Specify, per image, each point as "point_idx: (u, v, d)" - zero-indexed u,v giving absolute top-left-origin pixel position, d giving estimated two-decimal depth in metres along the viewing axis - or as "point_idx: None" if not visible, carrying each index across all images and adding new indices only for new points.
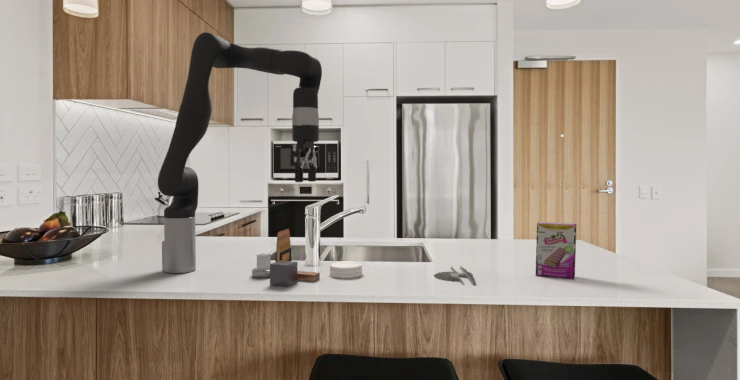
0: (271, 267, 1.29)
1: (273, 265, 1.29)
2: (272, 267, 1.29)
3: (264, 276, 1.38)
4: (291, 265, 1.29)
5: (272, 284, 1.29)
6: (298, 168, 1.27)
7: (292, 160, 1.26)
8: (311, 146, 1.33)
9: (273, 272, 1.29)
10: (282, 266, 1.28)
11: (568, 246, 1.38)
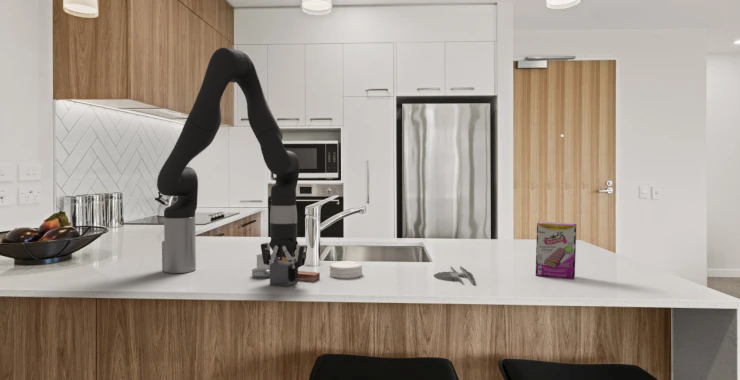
0: (271, 267, 1.29)
1: (273, 265, 1.29)
2: (272, 267, 1.29)
3: (264, 276, 1.38)
4: None
5: (272, 284, 1.29)
6: (297, 268, 1.30)
7: None
8: None
9: (273, 272, 1.29)
10: (282, 266, 1.28)
11: (568, 246, 1.38)
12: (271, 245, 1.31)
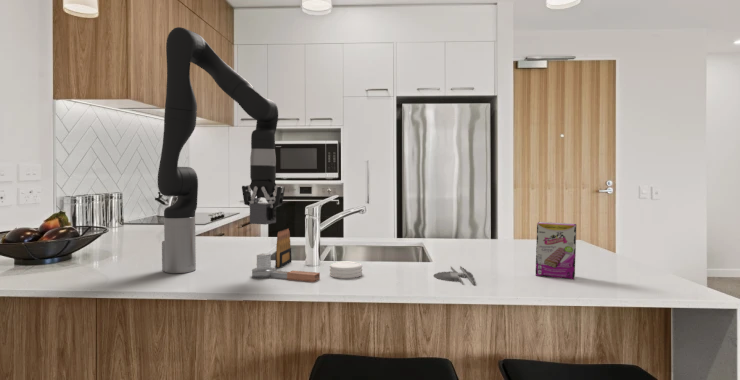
0: (251, 206, 1.39)
1: (253, 204, 1.39)
2: (252, 206, 1.39)
3: (264, 276, 1.38)
4: None
5: (252, 222, 1.39)
6: (275, 208, 1.40)
7: None
8: None
9: (253, 211, 1.39)
10: (261, 205, 1.38)
11: (568, 246, 1.38)
12: (251, 187, 1.40)
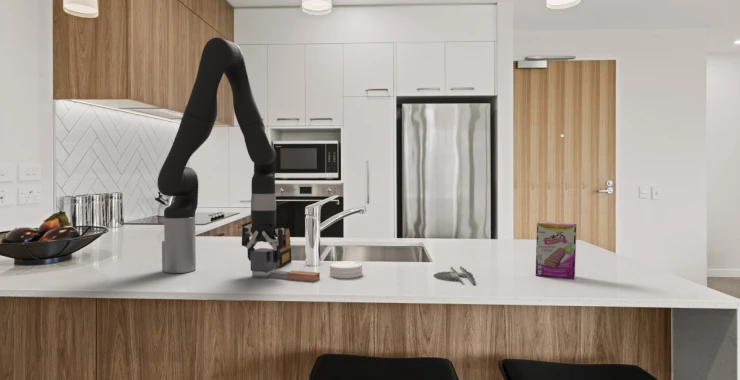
0: (251, 253, 1.39)
1: (253, 252, 1.39)
2: (252, 253, 1.39)
3: (264, 276, 1.38)
4: (270, 252, 1.40)
5: (252, 269, 1.40)
6: None
7: None
8: None
9: (253, 258, 1.39)
10: (261, 252, 1.38)
11: (568, 246, 1.38)
12: (252, 230, 1.41)
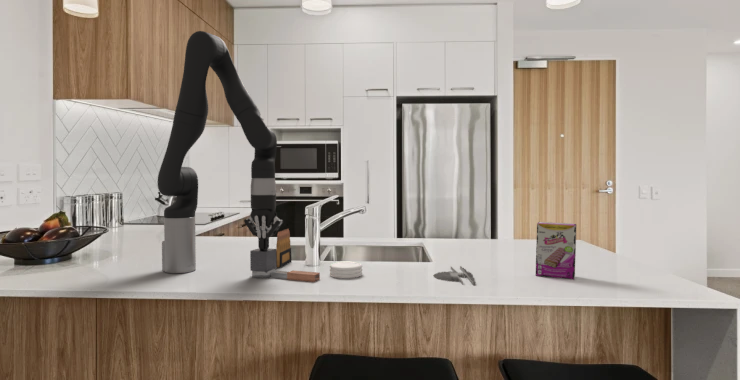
0: (251, 253, 1.39)
1: (253, 252, 1.39)
2: (252, 253, 1.39)
3: (264, 276, 1.38)
4: (270, 252, 1.40)
5: (252, 269, 1.40)
6: (268, 237, 1.41)
7: None
8: None
9: (253, 258, 1.39)
10: (261, 252, 1.38)
11: (568, 246, 1.38)
12: (252, 216, 1.41)
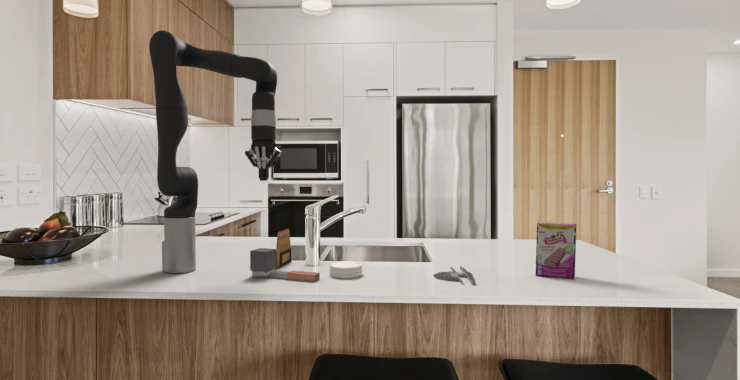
0: (251, 253, 1.39)
1: (253, 252, 1.39)
2: (252, 253, 1.39)
3: (264, 276, 1.38)
4: (270, 252, 1.40)
5: (252, 269, 1.40)
6: (268, 168, 1.46)
7: None
8: None
9: (253, 258, 1.39)
10: (261, 252, 1.38)
11: (568, 246, 1.38)
12: (253, 147, 1.46)
